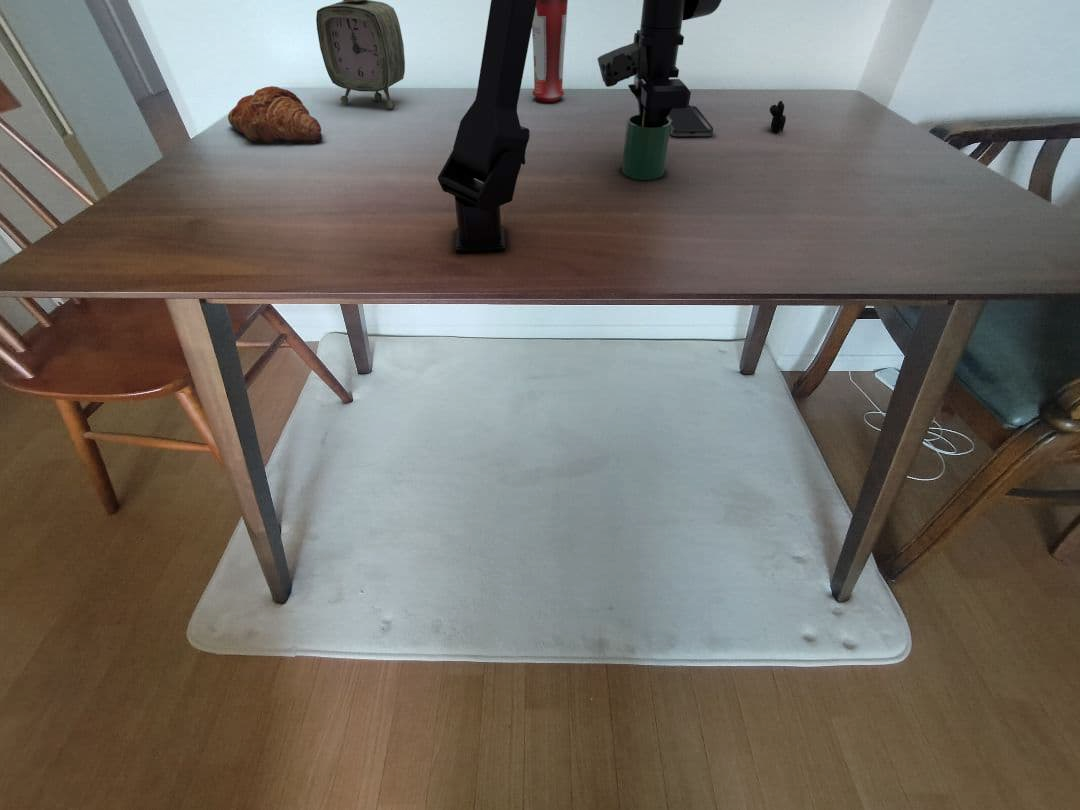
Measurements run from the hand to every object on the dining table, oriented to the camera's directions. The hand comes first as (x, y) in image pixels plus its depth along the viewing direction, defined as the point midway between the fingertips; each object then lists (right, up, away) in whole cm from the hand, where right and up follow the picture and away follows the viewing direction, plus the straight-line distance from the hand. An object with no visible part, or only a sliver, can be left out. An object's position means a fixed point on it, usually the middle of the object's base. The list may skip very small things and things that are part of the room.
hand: (646, 140), depth 92 cm
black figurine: (+28, +10, +18) cm, 35 cm away
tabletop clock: (-52, +22, +30) cm, 64 cm away
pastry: (-67, +8, +16) cm, 69 cm away
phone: (+11, +13, +21) cm, 27 cm away
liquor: (-15, +24, +33) cm, 43 cm away
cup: (0, -4, +4) cm, 5 cm away
